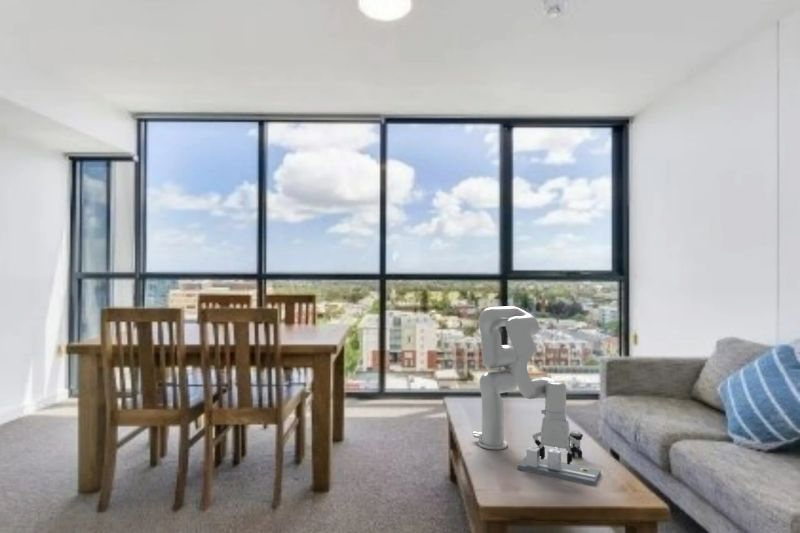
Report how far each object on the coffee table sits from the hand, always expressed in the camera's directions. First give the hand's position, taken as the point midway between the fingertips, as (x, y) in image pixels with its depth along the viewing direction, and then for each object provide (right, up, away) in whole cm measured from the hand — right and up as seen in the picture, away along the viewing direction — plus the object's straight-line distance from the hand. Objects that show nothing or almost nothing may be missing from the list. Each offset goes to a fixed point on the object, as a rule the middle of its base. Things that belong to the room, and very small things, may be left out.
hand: (555, 460), depth 193 cm
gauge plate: (+2, -5, +2) cm, 6 cm away
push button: (+13, -5, +18) cm, 22 cm away
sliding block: (0, -3, +2) cm, 3 cm away
